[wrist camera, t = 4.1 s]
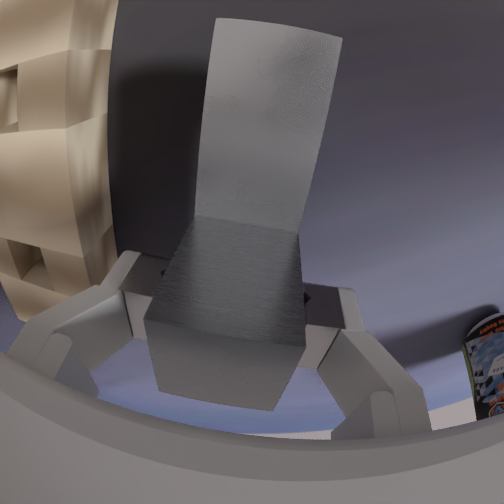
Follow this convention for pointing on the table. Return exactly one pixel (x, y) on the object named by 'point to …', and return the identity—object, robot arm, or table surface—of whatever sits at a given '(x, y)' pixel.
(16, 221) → the beige flat rectangular block
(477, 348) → the beverage can
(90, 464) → the robot arm
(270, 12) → the table surface
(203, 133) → the gray u-shaped bracket
